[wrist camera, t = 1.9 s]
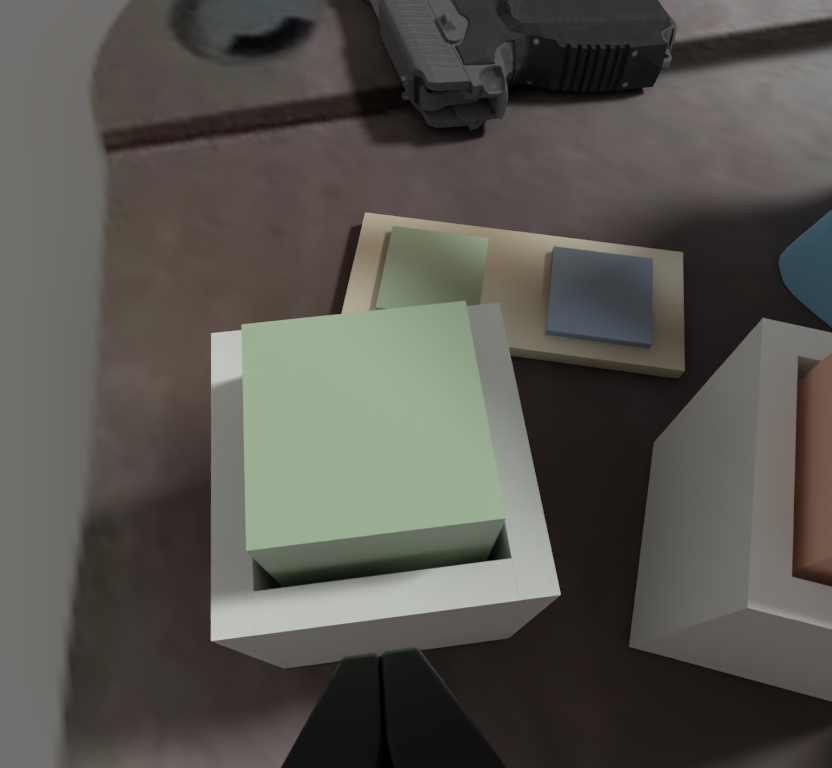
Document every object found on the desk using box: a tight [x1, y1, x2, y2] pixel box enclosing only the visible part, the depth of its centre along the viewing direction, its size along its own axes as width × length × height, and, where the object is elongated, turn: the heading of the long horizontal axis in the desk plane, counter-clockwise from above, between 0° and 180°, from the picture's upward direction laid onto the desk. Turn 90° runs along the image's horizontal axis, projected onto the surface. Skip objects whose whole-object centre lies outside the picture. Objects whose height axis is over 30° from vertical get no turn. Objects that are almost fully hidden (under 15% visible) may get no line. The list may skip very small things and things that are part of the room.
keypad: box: [211, 303, 832, 702], centre depth 17 cm, size 11×30×8 cm, turn 81°
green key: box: [241, 301, 506, 588], centre depth 16 cm, size 4×4×7 cm
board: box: [341, 213, 685, 379], centre depth 25 cm, size 5×12×1 cm, turn 81°
